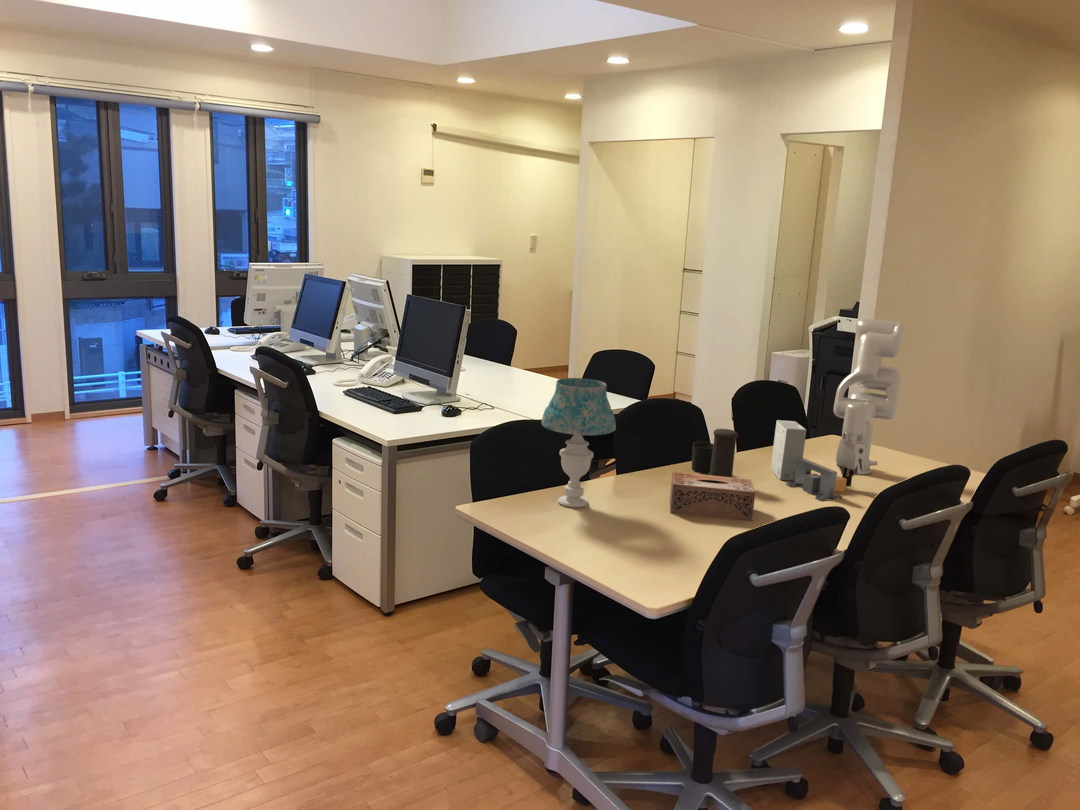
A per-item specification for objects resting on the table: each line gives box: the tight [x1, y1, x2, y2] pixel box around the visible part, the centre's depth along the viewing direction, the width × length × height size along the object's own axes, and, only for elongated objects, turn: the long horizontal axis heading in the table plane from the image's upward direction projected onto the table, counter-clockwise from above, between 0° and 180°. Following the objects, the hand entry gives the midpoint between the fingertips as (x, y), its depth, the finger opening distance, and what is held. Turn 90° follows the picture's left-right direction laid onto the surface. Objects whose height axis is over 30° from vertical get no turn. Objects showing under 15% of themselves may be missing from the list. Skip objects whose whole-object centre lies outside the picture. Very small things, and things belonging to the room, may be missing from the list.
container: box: [709, 428, 739, 477], centre depth 309 cm, size 9×9×20 cm
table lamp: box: [541, 377, 617, 509], centre depth 274 cm, size 24×24×40 cm
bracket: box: [785, 457, 843, 501], centre depth 307 cm, size 10×18×10 cm, turn 22°
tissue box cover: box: [669, 471, 756, 522], centre depth 279 cm, size 26×14×10 cm, turn 82°
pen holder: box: [691, 441, 714, 474], centre depth 325 cm, size 9×9×10 cm
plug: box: [802, 473, 847, 495], centre depth 309 cm, size 16×5×6 cm, turn 113°
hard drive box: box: [770, 419, 807, 482], centre depth 325 cm, size 16×8×20 cm, turn 179°
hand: (845, 485), depth 313 cm, fingers closed
